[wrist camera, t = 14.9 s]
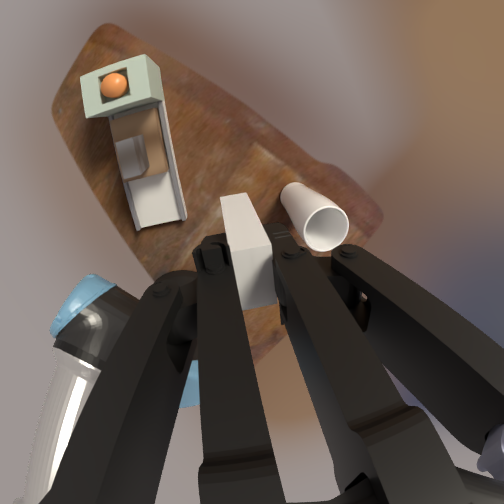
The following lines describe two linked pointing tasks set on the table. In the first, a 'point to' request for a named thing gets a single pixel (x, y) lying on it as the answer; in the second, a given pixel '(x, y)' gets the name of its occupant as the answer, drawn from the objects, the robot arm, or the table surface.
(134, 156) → the carriage
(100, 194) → the table surface
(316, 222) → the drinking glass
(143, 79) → the end cabinet
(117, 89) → the button
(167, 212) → the track
